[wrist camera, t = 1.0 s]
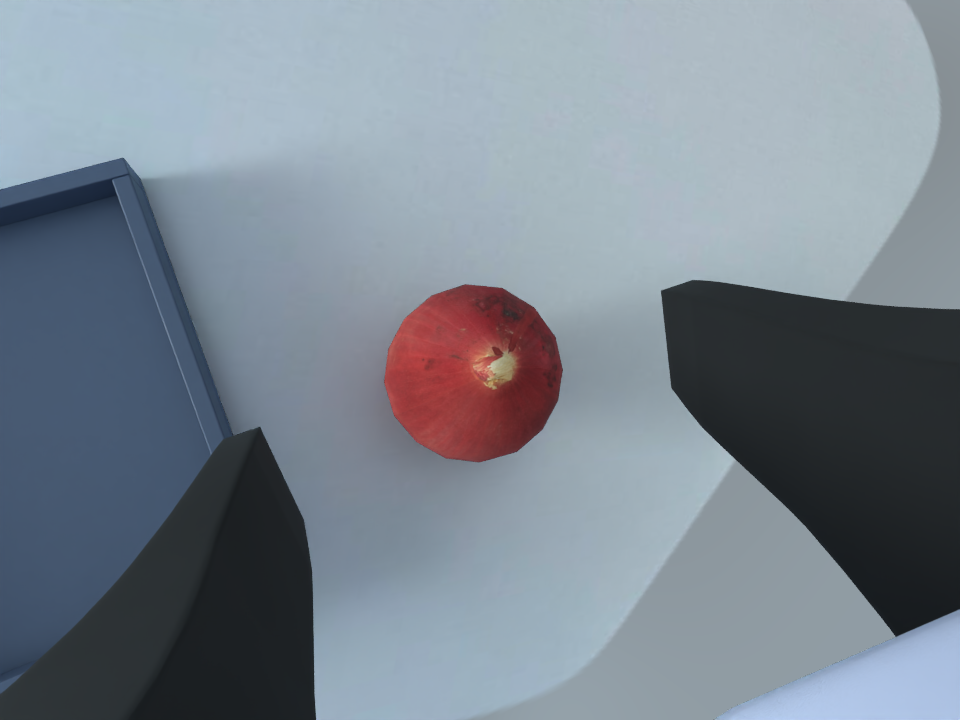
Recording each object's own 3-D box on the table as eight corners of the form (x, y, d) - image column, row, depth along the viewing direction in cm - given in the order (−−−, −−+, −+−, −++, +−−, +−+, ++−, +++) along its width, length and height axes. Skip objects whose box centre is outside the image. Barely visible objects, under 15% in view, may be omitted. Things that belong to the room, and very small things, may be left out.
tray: (283, 574, 24) (279, 587, 23) (-128, 744, 22) (-174, 775, 20) (140, 178, 25) (123, 156, 23) (-286, 291, 22) (-347, 278, 20)
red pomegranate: (426, 278, 27) (463, 217, 19) (552, 351, 27) (638, 322, 20) (351, 410, 26) (357, 404, 18) (484, 482, 26) (546, 507, 18)
